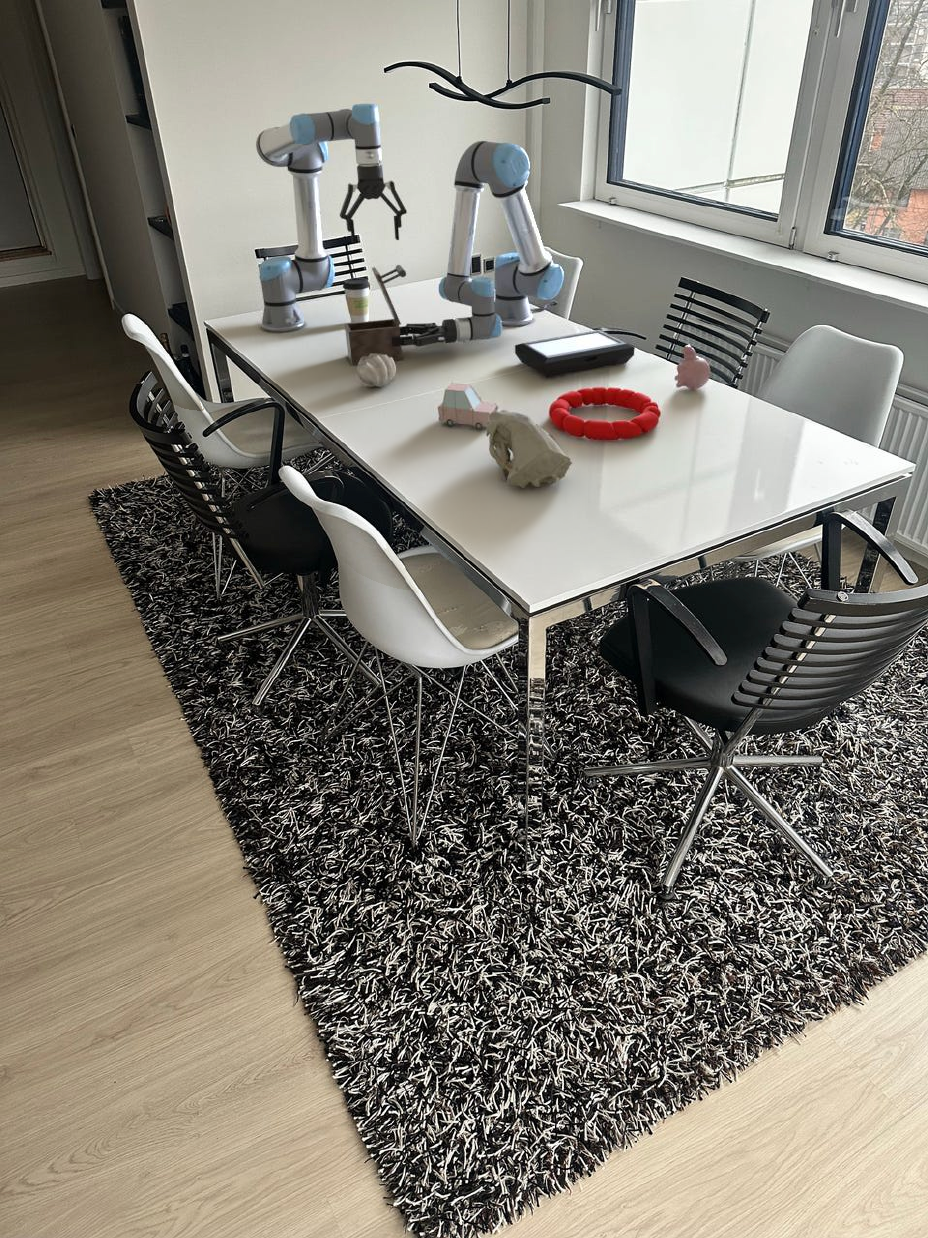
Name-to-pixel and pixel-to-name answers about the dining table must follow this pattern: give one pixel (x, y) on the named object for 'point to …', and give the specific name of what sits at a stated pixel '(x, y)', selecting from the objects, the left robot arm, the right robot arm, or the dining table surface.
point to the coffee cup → (357, 298)
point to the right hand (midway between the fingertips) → (389, 337)
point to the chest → (372, 339)
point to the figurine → (692, 370)
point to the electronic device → (574, 353)
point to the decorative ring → (604, 428)
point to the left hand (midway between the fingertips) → (375, 240)
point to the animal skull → (525, 450)
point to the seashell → (376, 369)
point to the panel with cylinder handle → (381, 283)
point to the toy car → (465, 406)
